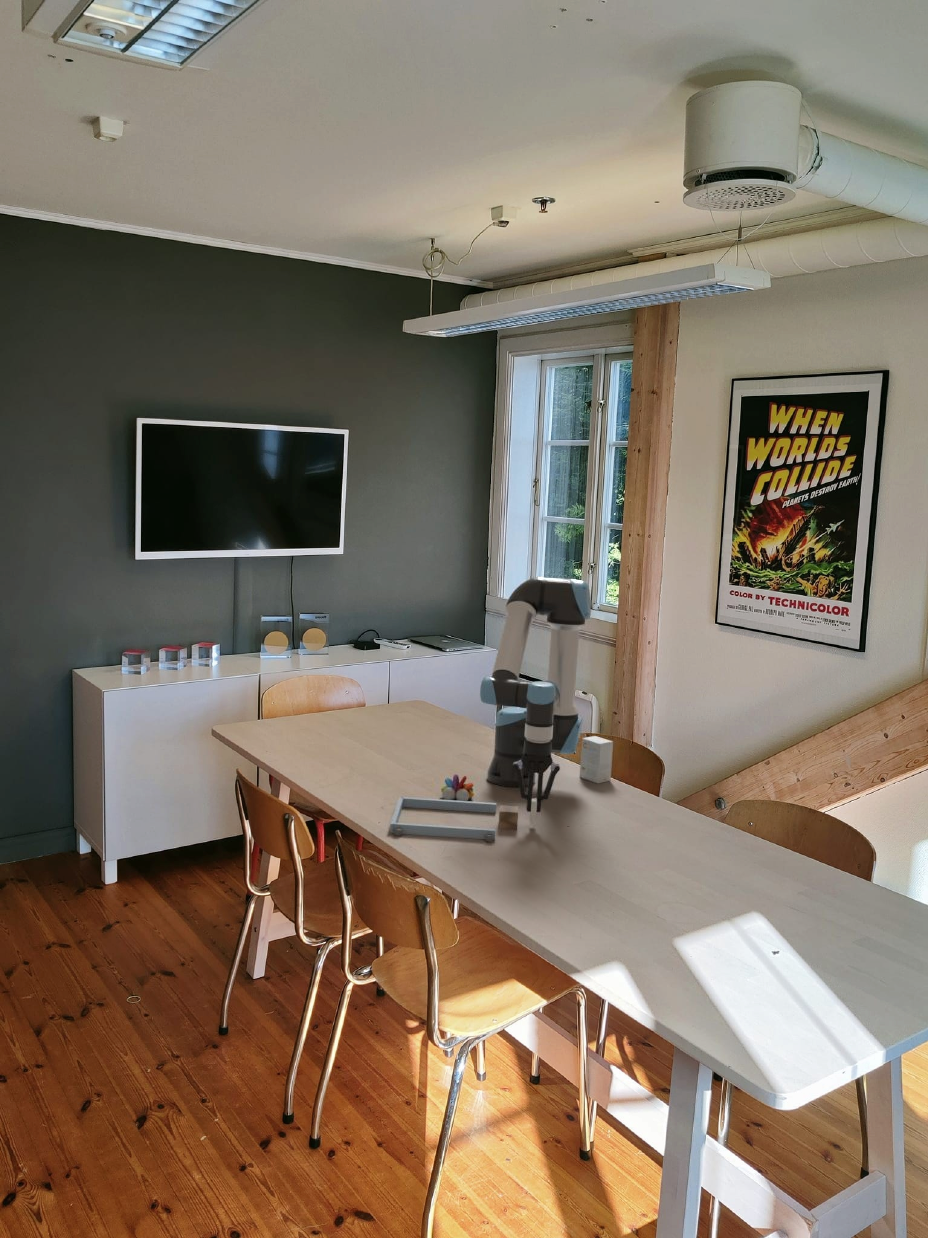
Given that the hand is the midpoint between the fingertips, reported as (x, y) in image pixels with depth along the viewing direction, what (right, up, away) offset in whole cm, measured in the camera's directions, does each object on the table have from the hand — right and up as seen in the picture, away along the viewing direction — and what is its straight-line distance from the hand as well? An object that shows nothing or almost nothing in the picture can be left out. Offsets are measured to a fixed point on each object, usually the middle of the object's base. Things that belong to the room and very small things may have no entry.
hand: (532, 822), depth 276 cm
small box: (+23, +4, +48) cm, 53 cm away
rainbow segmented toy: (-21, +3, +22) cm, 30 cm away
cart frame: (-24, 0, +1) cm, 24 cm away
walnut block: (-7, -1, 0) cm, 7 cm away
